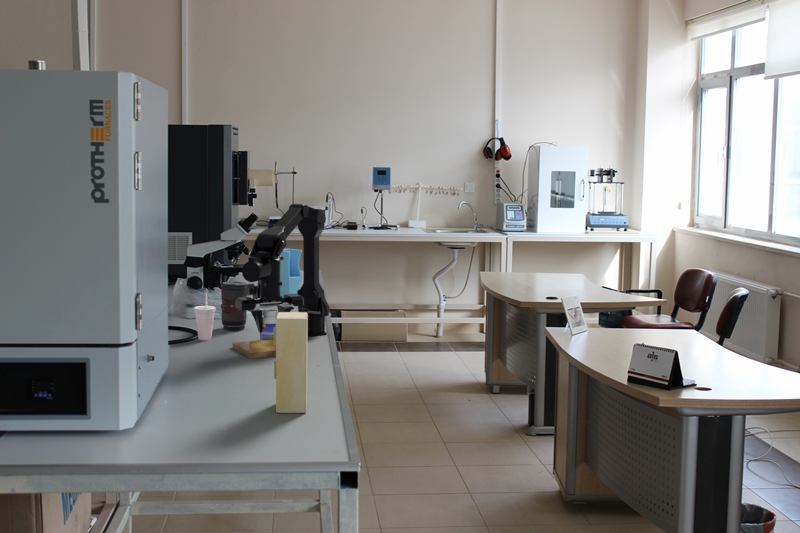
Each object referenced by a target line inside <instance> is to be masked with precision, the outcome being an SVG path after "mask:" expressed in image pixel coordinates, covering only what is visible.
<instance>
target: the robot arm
mask: <svg viewBox="0 0 800 533" xmlns="http://www.w3.org/2000/svg"><path fill="white" fill-rule="evenodd" d="M326 217H327V216H326V214H325V212H324V211H323V210H322V209H320V208H314V207H311V206H309V205H307V204H305V203H291V204H290V205H289V207H288V209H287V210H286V212H285V213H284V214H283V215H282V216H281V217H280V218H279V220H278V221H277V222H276V223H274V225H273V226H271V227H269V228H266V229H263V230H262V231H261V232H259V233H258V235H257V236H256V238H255V241H254V244H253V247H252V248H251V251H250V254H249V257H248V261H247V262H245V263H244V264H243V265H242V268H241V275H242V277H243V279H244V280H245V281H247V282H248V283H246V284H247V285H246V294H247V297H241V298H237V299H236V301H235V307H236V308H238V309H240V310H242V311H246V312H247V311H248V312H250V313H251V315H252V318H253V320H254V321H255V325H256V328H257V330H258V333H259V334H260V333H262V318H263V317H264V316H263V310H264V309H261V306H262V307H263V306H273V305H276V306H277V307H276V308H277V314H278V313H279V312H292V311H293V310H295V307H297V312H307V313H308V337H313V336H315V337H316V336H322V335H328V332H326V328H325V327H326V324H325V323H326V317H329V315H330V310H331V307H330V305H329V304H328V301H327V299H326V297H325V290H324V288H323V287H322V285H321V283H320V236H321V234H322V233H323V231H324V230H325V224H326V219H327V218H326ZM296 227H297V230H298V231H299V233H300V235H301V236H302V241H303V242H302V246H303V247H302V249H303V250H302V254H303V256H302V258H303V260H302V262H303V264H302V265H303V267H302V268H303V271H302V272H303V274H302V280H303V281H302V282H303V284H302V285H301V286H300V289H298V291H297V294H285V295H284V297H283V298H282V296H280V286H282V282H281V281H280V260H283V259H284V258H283V256H281V255H280V254H281V253H282V251H283V250H284V249H286V246H287V244H288V243H287V239H288V237H289V236H290V235H291V233H292V232H294V230H295V229H296ZM255 282H257V284H254V283H255ZM251 296H252V297H251ZM273 301H274V302H273Z"/></svg>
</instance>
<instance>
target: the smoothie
mask: <svg viewBox="0 0 800 533" xmlns="http://www.w3.org/2000/svg"><path fill="white" fill-rule="evenodd" d="M208 300H209V299H208V293H207V292H206V293H205V305H198V306H194V308H193V311H194V313H195V314H194V315H195V321H196V330H197V337H198V340H199V341H211V340H212V337H213V336H212V335H213V328H214V327H213V326H214V320H215V312H216V311H217V310H216V306H212V305H208V304H209V303H208Z"/></svg>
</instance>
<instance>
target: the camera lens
mask: <svg viewBox="0 0 800 533" xmlns="http://www.w3.org/2000/svg"><path fill="white" fill-rule="evenodd" d="M221 284H222V285H221V289H220V290H221V291H220V292H221V294H220V295H221V304H220V309H221V317H220V318H221V325H222V326H223V330H224V331H226V332H227V331H228V332H239V331H242V330H245V329H246V328H245V327H246V325H247V324H246V323H247V313H248V312H247V310H246V311H242V310H240V309H238V308H236V307H235V301H236V299H237V298H241V297H248V296H247V294H246V285H247V284H248V283H247V282H243V281H223V282H222V283H221Z"/></svg>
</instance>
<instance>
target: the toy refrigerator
mask: <svg viewBox="0 0 800 533" xmlns="http://www.w3.org/2000/svg"><path fill="white" fill-rule="evenodd" d="M276 317H277V318H276V327H274V328H273V345H276V356H275V361H274V362H273V363H274V364H273V370H274V371H273V378H274V380H275V413H276V414H277V413H278V414H305V413H307V409H308V407H307V406H308V337H309V336H308V313H307V312H299V311H297V312H295V311H290V312H279V313H278V312H277V316H276Z"/></svg>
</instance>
